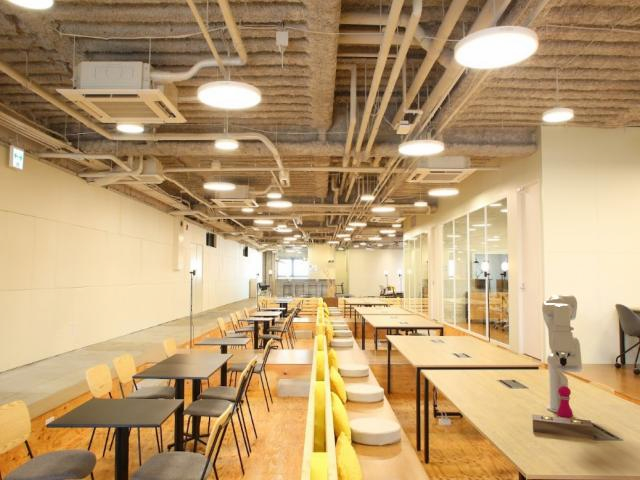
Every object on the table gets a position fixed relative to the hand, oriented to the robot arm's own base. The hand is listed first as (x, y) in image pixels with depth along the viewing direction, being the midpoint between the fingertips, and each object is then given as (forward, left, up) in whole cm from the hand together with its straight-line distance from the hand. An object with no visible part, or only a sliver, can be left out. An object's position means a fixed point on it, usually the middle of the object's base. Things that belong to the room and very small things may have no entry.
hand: (563, 365), depth 241 cm
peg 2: (+8, +5, -29) cm, 31 cm away
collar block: (+8, -2, -31) cm, 32 cm away
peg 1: (+8, -9, -29) cm, 32 cm away
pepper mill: (-11, +1, -31) cm, 33 cm away
